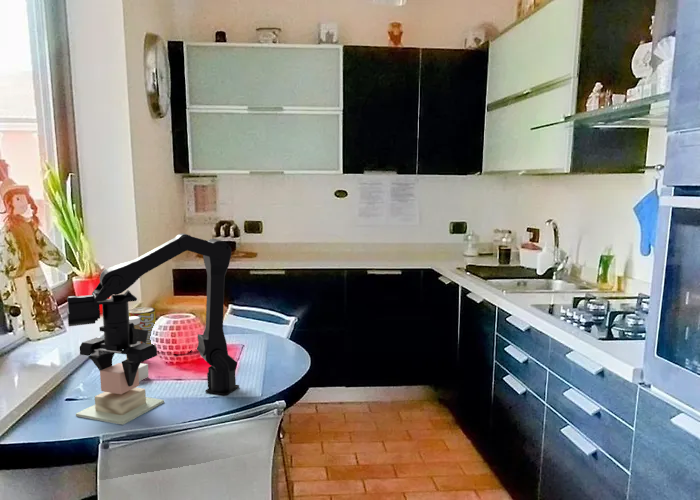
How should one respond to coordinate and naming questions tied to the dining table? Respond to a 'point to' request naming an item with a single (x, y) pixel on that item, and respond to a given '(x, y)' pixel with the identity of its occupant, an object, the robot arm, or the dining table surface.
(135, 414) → the baseplate
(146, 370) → the cap block
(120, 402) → the block
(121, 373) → the coral block
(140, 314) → the yellow food can
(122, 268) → the robot arm
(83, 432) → the dining table surface
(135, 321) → the sprinkles bottle
